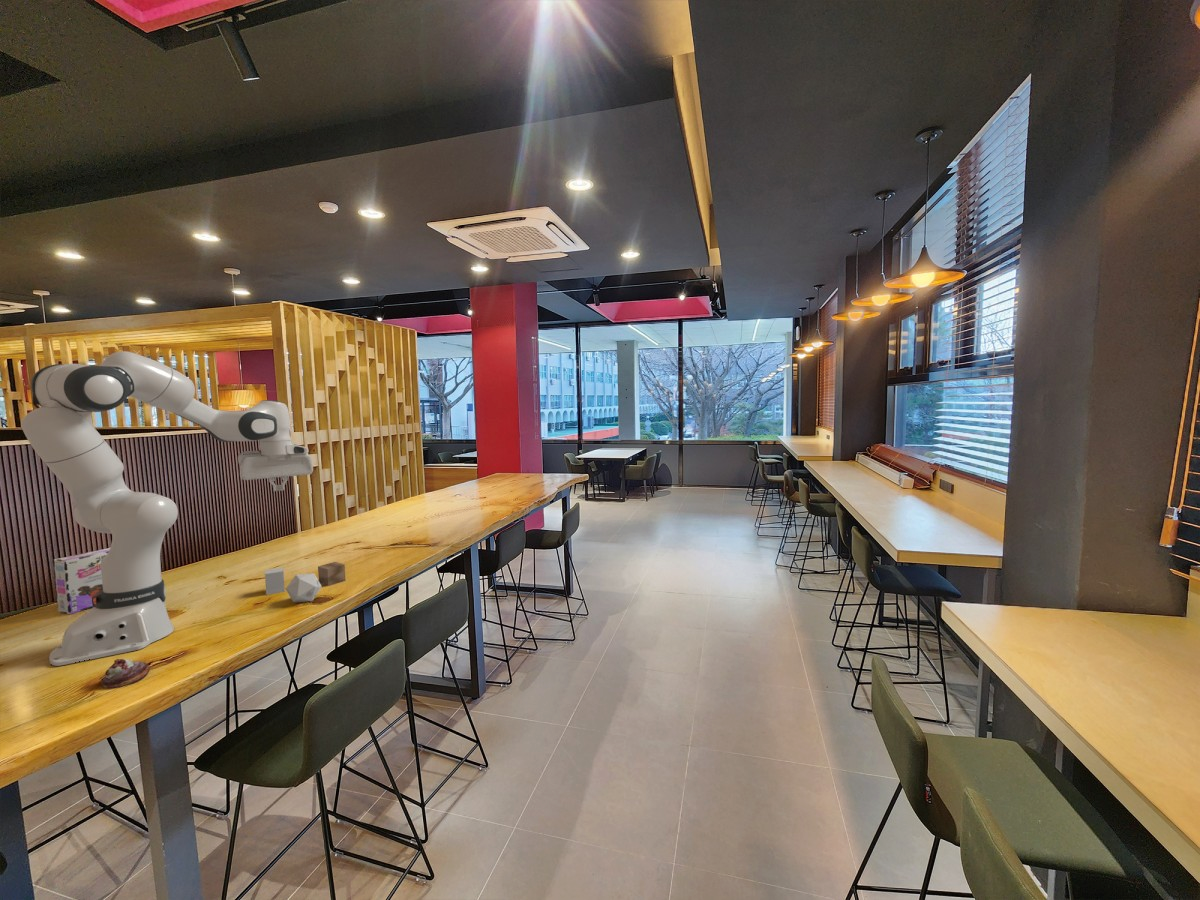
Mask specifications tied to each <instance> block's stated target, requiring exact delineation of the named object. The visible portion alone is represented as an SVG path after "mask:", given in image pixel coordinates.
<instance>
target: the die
mask: <svg viewBox="0 0 1200 900" xmlns="http://www.w3.org/2000/svg"><path fill="white" fill-rule="evenodd" d="M321 589H322V584H320V583H319V578H318V577H317V576H316V574H315V573H313V572H312V573H300V574H295V575H294V577H293V578H292V580H291V581H290V582H289V584H288V585H286V587H285V592H287V594H288V596H289V597H290V599H291V601H292V602H293V603H294V604H295V603H307V602H313V601H314V599H315V598H316V596H317V594H318V593H319V592H320V590H321ZM293 603H292V604H293Z"/></svg>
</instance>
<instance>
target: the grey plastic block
mask: <svg viewBox="0 0 1200 900" xmlns="http://www.w3.org/2000/svg"><path fill="white" fill-rule="evenodd" d="M284 572H285V571H284V567H282V566H281V567H276V568H271V569H270V568H269V569H265V570H264V581H265V594H266V596H268V595H273V594H274V595H275V594H279V593H284V592H286V587H285V573H284Z"/></svg>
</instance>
